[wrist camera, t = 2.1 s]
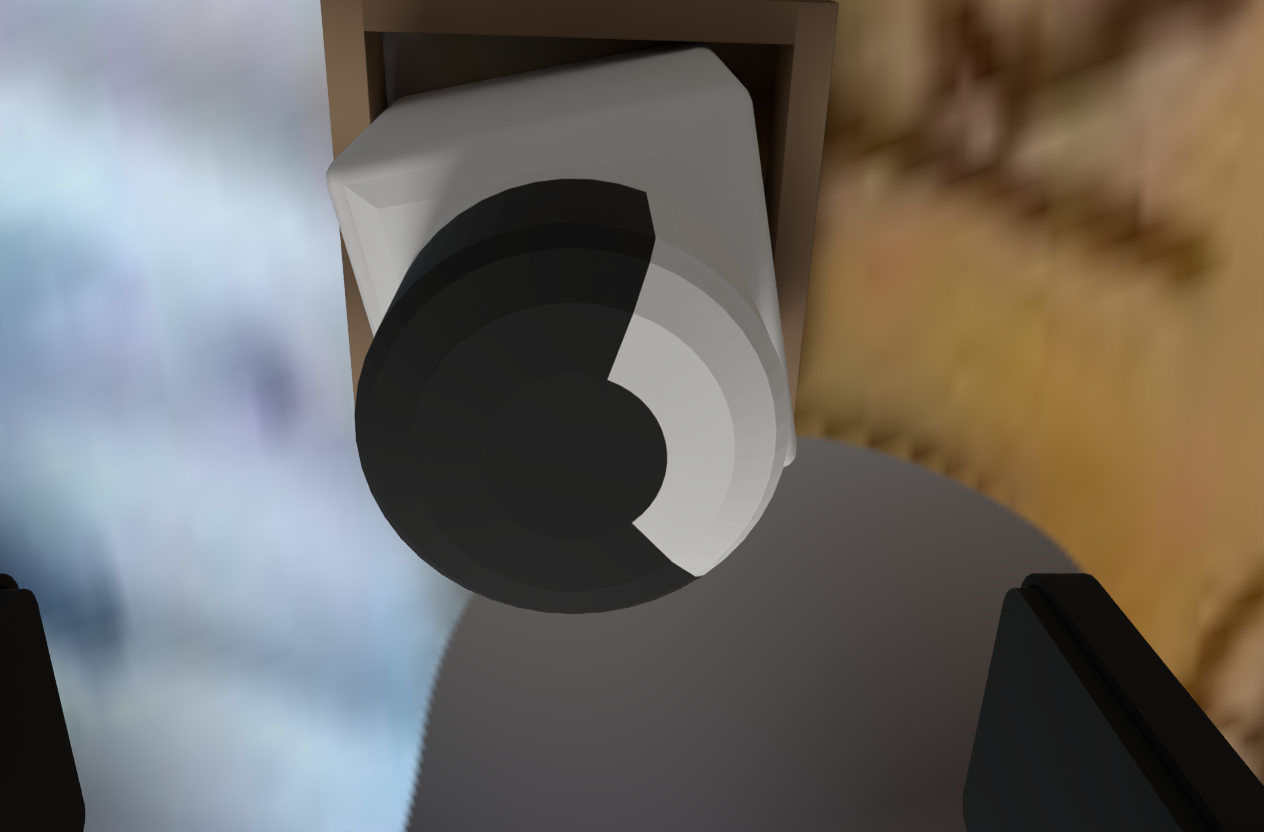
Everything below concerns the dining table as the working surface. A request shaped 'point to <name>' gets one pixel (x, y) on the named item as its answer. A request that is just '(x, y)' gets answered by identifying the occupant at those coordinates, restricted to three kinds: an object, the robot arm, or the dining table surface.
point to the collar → (617, 9)
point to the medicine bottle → (569, 327)
